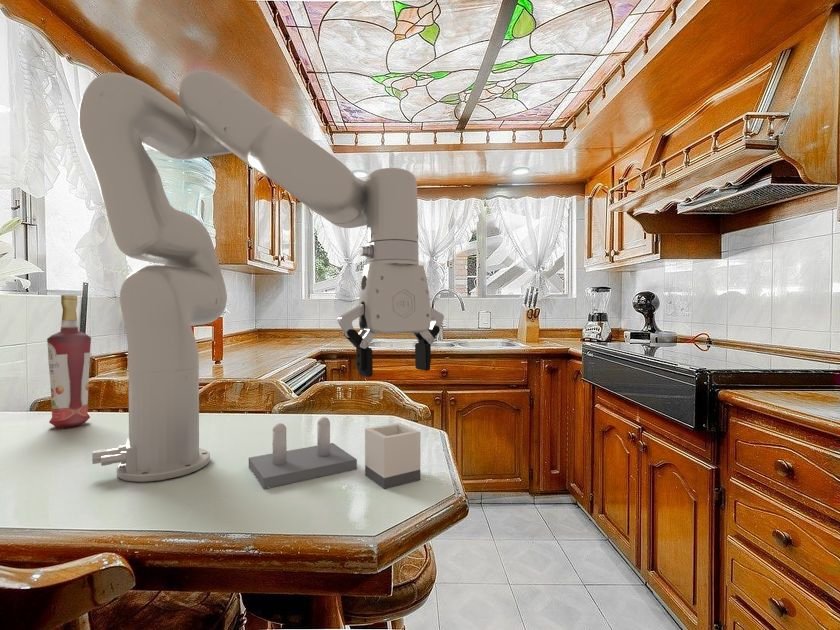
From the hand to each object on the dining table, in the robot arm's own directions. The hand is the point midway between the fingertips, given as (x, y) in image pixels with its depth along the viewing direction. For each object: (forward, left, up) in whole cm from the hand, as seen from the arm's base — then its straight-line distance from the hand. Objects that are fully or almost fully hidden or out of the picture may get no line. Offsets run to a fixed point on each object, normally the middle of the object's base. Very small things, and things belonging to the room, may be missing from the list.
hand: (395, 372), depth 64 cm
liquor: (-44, +63, -16) cm, 79 cm away
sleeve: (0, 0, -16) cm, 16 cm away
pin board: (-10, +11, -16) cm, 22 cm away
